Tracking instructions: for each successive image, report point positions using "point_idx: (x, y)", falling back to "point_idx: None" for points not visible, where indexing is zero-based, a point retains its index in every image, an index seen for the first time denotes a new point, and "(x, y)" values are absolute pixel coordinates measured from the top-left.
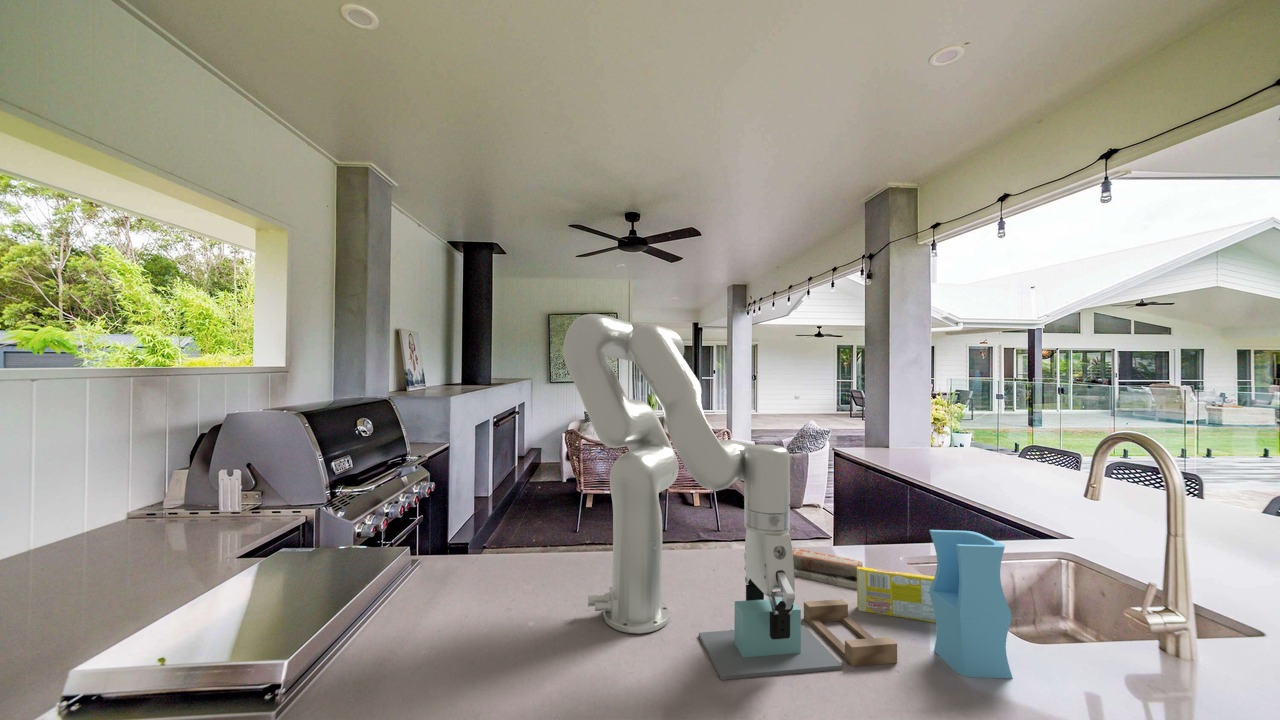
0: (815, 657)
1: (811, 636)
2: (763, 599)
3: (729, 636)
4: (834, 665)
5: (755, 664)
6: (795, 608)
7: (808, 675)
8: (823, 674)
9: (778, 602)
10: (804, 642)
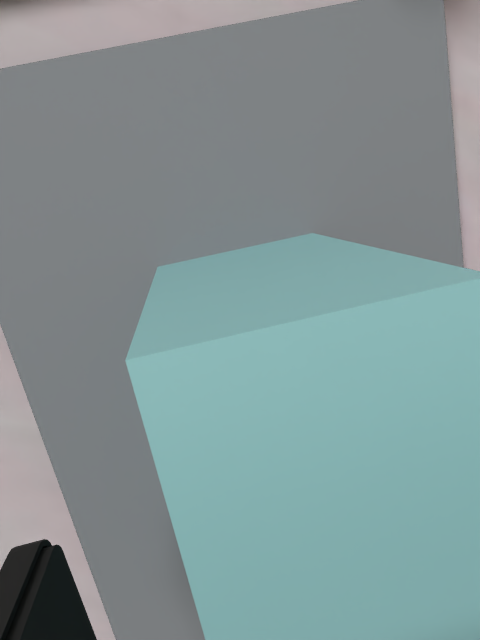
0: (359, 148)
1: (91, 79)
2: (33, 609)
3: (172, 606)
4: (441, 46)
5: None
6: (457, 344)
7: (470, 239)
8: (467, 147)
9: (285, 537)
10: (184, 166)
